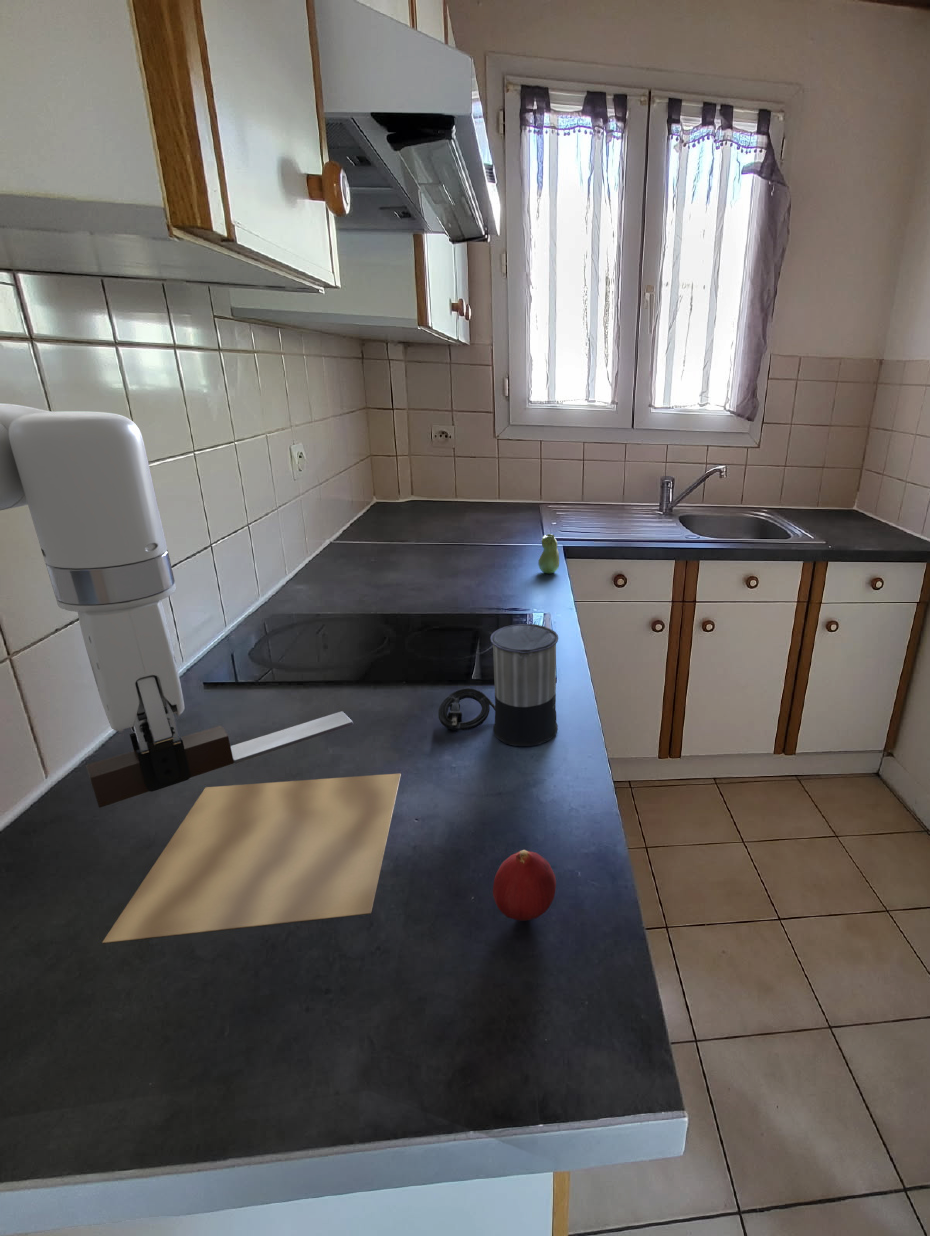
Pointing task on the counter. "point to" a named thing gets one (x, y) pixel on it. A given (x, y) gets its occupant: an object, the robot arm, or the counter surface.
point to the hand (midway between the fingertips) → (165, 774)
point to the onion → (524, 886)
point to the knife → (202, 756)
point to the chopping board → (266, 858)
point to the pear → (549, 555)
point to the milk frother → (515, 688)
